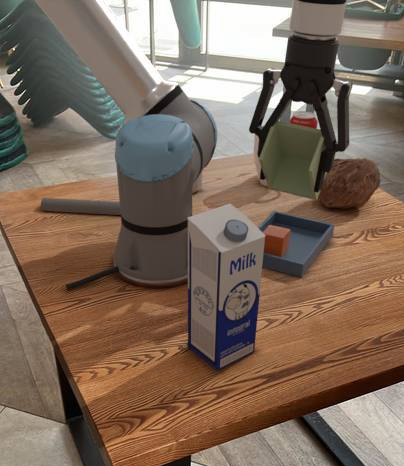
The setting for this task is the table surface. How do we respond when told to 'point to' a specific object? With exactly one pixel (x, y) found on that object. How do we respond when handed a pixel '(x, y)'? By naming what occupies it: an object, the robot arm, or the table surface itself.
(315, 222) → the tray
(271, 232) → the block
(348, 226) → the table surface
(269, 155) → the box
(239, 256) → the milk carton
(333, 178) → the decorative rock
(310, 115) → the beverage can
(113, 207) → the half round rod
